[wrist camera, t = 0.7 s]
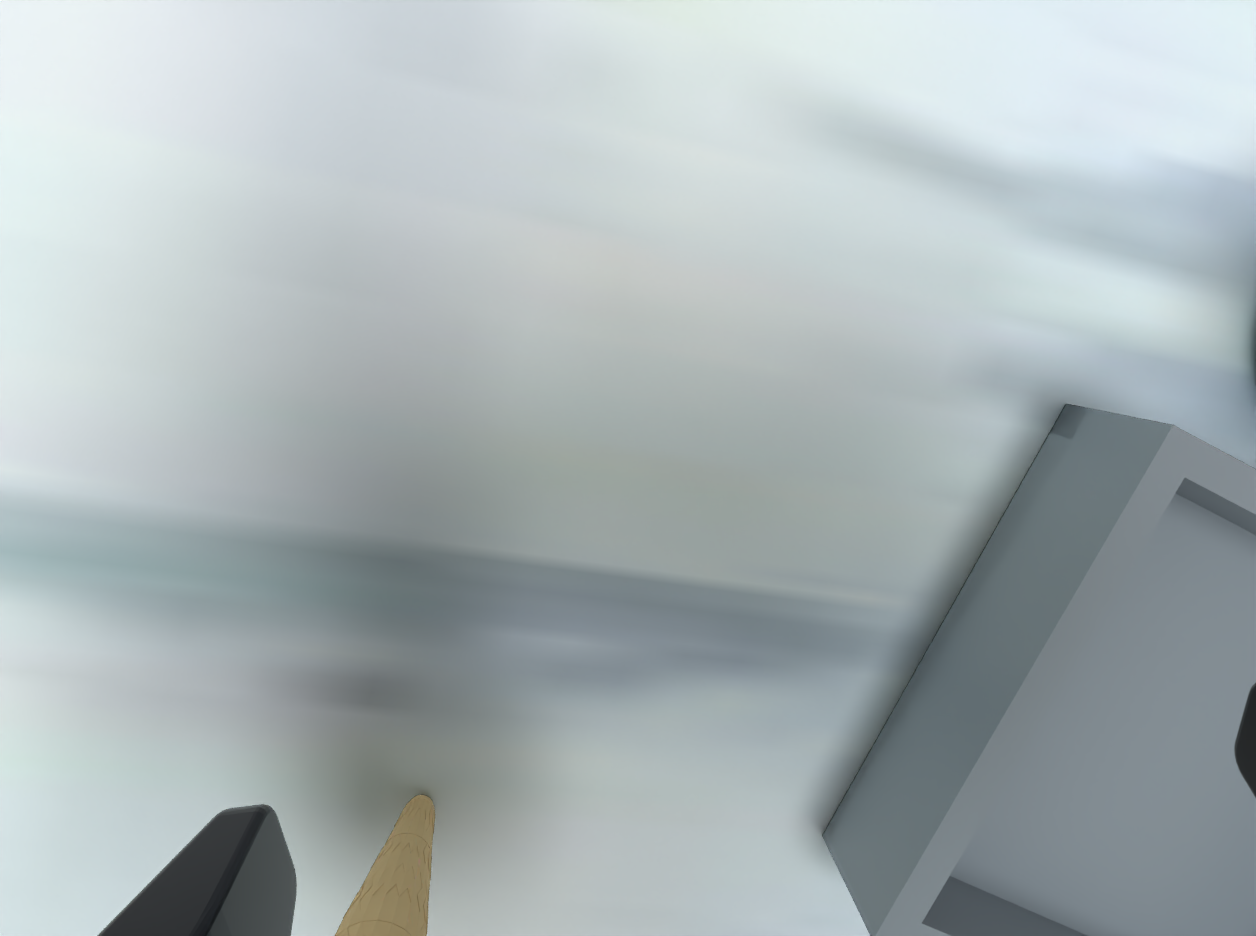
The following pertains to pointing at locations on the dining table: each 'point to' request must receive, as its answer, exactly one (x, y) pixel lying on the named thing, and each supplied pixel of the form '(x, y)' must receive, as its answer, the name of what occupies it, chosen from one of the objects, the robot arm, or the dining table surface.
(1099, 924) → the bin
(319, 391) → the dining table surface
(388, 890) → the ice cream cone
